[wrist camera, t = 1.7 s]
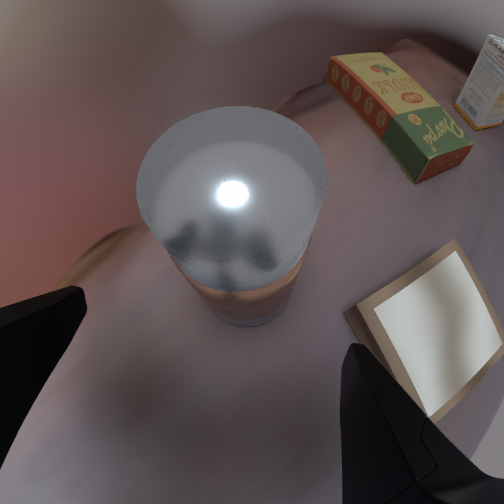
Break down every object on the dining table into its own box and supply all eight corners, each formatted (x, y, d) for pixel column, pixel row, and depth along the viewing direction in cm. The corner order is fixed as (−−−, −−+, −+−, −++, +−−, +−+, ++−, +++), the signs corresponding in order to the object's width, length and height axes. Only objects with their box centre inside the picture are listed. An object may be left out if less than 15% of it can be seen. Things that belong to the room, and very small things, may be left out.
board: (402, 427, 16) (423, 433, 14) (343, 313, 20) (356, 303, 17) (487, 351, 18) (510, 346, 15) (436, 252, 21) (455, 237, 18)
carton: (375, 75, 31) (383, 50, 27) (459, 167, 25) (477, 143, 21) (323, 83, 30) (328, 54, 26) (412, 187, 24) (431, 159, 20)
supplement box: (479, 103, 30) (513, 41, 18) (499, 126, 28) (538, 65, 16) (451, 105, 29) (487, 31, 17) (473, 131, 27) (518, 58, 15)
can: (226, 342, 19) (170, 300, 7) (191, 266, 22) (119, 146, 10) (306, 302, 20) (367, 206, 8) (266, 231, 22) (269, 88, 10)
